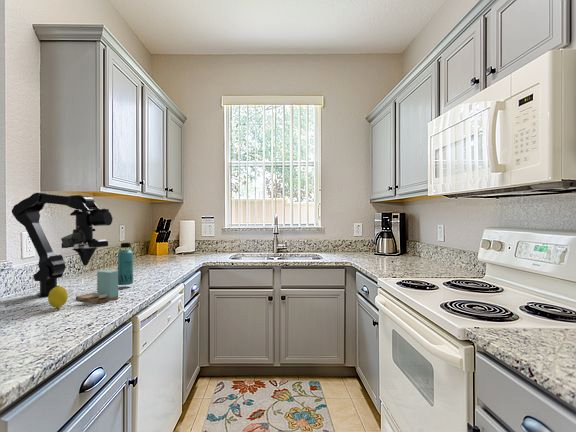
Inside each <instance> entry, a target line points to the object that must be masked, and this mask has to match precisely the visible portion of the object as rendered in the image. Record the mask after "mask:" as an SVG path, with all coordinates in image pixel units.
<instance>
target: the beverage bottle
mask: <svg viewBox="0 0 576 432" xmlns="http://www.w3.org/2000/svg"><path fill="white" fill-rule="evenodd" d="M131 247H132V246H131V242H121V243H120V248H121V249H122V250H120V251H117V271H118V286H129V285H133V284H134V283H133V282H134V251H133V250H131V249H126V248H131ZM124 248H125V249H124Z"/></svg>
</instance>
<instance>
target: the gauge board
mask: <svg viewBox="0 0 576 432" xmlns="http://www.w3.org/2000/svg"><path fill="white" fill-rule="evenodd" d="M92 294H97V292H90V293H87V294H86V293H85V294H81V295H76V296H75V300H76V301H80V300H82V302H87V301H88V302H89V303H93V302H94V303H95V304H105V303H107V302H112V301H115V300H118V299H119V295H118V296H115V297H112V298H108V297H103V298H99V296H97V297H92Z"/></svg>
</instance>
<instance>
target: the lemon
mask: <svg viewBox="0 0 576 432" xmlns="http://www.w3.org/2000/svg"><path fill="white" fill-rule="evenodd" d="M68 295H69V294H68V292H67V289H66V288H65V287H63V286H60V285H57V286H56V287H55V288H53V289H52V290H51V291H50V292H49V296H47V297H48V299H47V301H48V304H49V305H50V306H51V307H53V308H54V309H58V310H59V309H60V308H61V307H63V306H65V304H66V303H67V301H68V298H69V297H68Z"/></svg>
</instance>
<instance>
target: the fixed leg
mask: <svg viewBox="0 0 576 432" xmlns="http://www.w3.org/2000/svg"><path fill="white" fill-rule="evenodd" d="M115 296H118V297H119V285H118V270H111V271H106V272H104V294H103V295H99V298H103V297H108V298H112V297H115Z"/></svg>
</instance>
